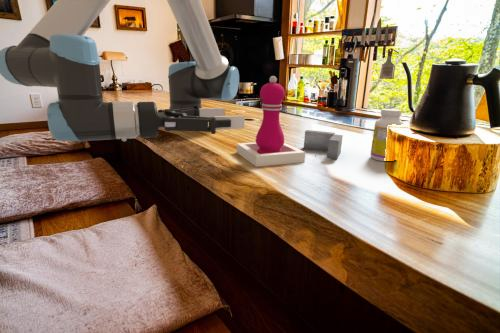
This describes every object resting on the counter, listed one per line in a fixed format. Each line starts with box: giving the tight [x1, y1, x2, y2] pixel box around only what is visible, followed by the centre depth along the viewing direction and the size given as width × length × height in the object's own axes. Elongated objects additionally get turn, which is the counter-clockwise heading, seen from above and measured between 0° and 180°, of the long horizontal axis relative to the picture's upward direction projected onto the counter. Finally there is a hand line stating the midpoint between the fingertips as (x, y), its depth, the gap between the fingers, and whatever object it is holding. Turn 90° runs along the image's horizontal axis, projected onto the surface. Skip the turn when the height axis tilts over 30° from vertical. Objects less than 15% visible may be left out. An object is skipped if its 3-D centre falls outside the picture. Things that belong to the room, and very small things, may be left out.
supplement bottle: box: [370, 108, 404, 162], centre depth 78 cm, size 7×7×13 cm
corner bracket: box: [303, 129, 343, 161], centre depth 83 cm, size 15×7×5 cm, turn 22°
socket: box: [236, 141, 306, 168], centre depth 77 cm, size 13×13×2 cm
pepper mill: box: [255, 75, 286, 154], centre depth 75 cm, size 7×7×20 cm
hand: (233, 117), depth 71 cm, fingers open, 13 cm apart
